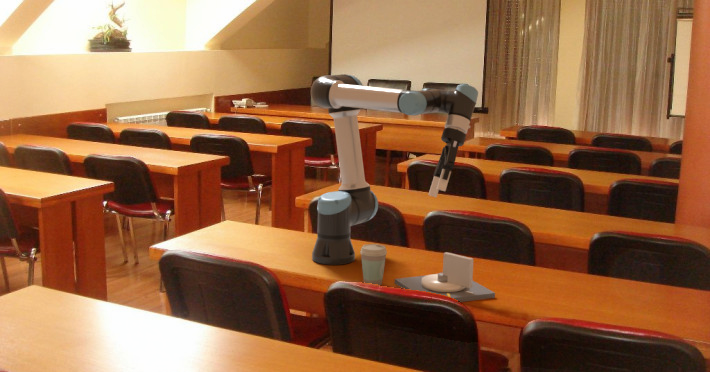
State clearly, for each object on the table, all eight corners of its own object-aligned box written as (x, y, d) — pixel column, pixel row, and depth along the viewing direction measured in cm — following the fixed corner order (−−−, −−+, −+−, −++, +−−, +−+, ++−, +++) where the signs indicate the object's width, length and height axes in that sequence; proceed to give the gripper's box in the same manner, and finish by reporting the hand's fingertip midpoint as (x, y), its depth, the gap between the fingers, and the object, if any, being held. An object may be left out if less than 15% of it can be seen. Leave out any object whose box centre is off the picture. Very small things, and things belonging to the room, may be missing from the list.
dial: (412, 284, 246) (413, 252, 244) (439, 275, 257) (440, 244, 255) (457, 297, 235) (458, 263, 233) (483, 287, 245) (484, 254, 243)
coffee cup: (383, 288, 248) (384, 251, 246) (357, 286, 250) (357, 249, 248) (388, 280, 256) (389, 244, 254) (362, 278, 258) (363, 242, 256)
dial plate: (394, 283, 253) (394, 278, 253) (457, 276, 262) (457, 271, 262) (428, 306, 232) (428, 300, 232) (494, 297, 241) (495, 292, 241)
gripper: (475, 126, 242) (456, 191, 239) (457, 143, 267) (439, 202, 263) (452, 118, 242) (433, 183, 238) (436, 135, 267) (418, 194, 263)
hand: (436, 193), depth 251 cm, fingers open, 13 cm apart
